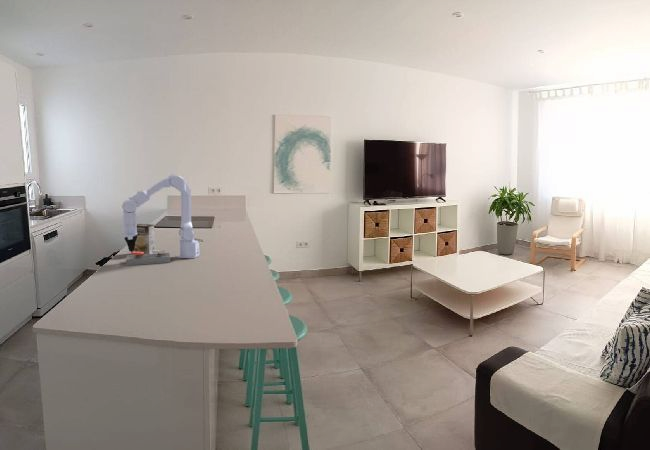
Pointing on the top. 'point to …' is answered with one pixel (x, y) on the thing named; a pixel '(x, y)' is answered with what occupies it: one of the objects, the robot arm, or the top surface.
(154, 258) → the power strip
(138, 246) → the coffee box
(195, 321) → the top surface
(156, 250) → the white rocker
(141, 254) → the red rocker
